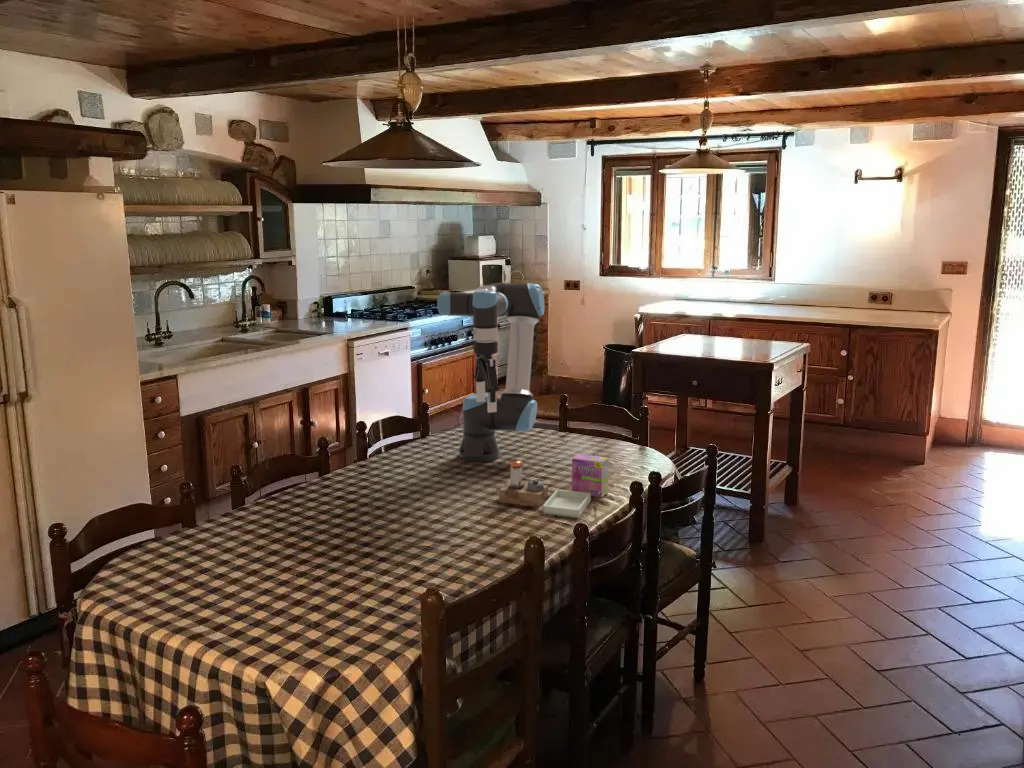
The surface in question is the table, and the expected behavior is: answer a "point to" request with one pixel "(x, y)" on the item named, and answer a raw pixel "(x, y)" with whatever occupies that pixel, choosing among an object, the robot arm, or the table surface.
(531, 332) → the robot arm
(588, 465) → the box
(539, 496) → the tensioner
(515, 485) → the pin
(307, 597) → the table surface
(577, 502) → the tray
